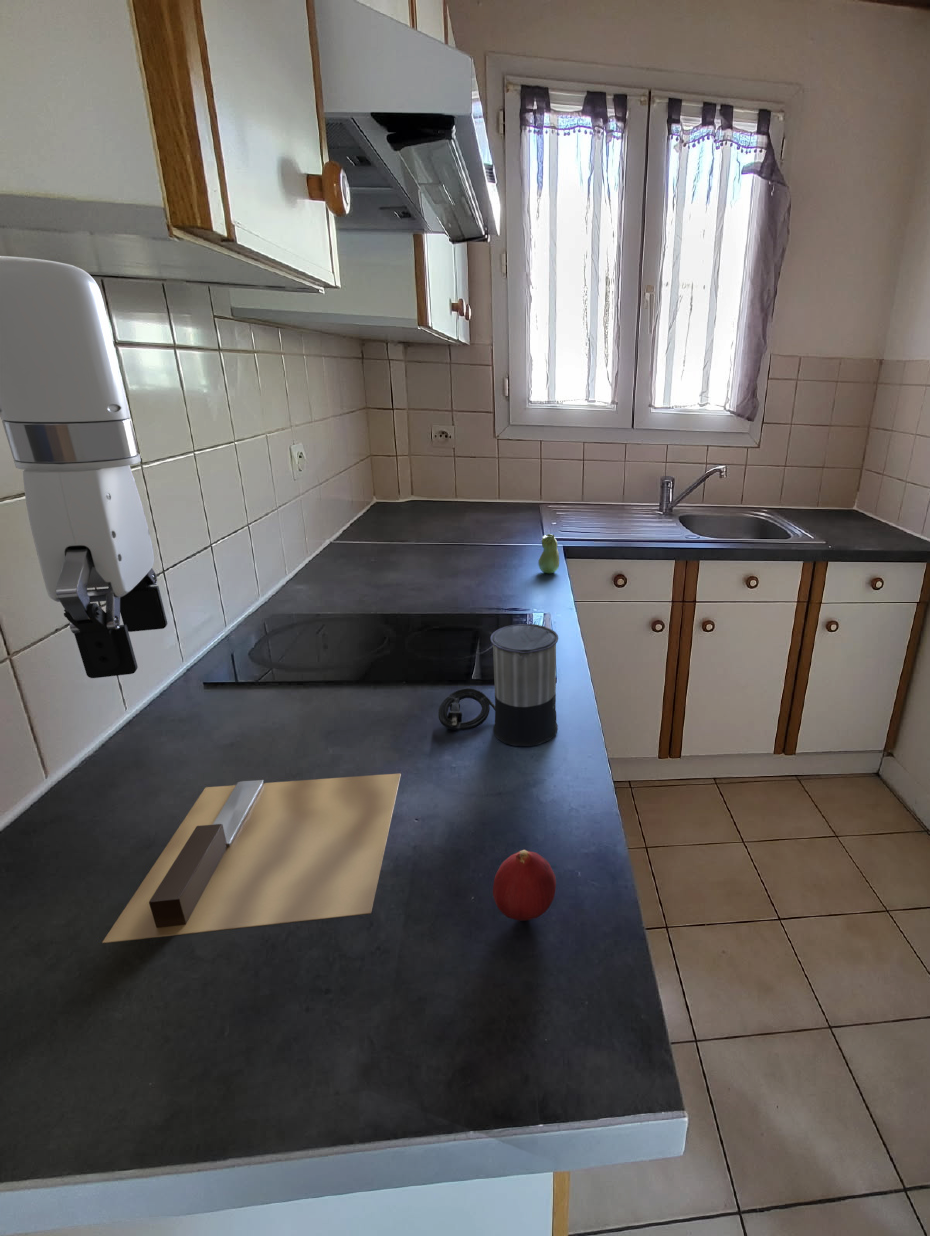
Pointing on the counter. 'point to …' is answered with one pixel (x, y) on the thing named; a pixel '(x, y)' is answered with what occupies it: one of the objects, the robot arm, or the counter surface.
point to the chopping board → (280, 857)
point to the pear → (549, 555)
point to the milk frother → (515, 688)
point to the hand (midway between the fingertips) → (131, 650)
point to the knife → (201, 859)
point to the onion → (524, 886)
